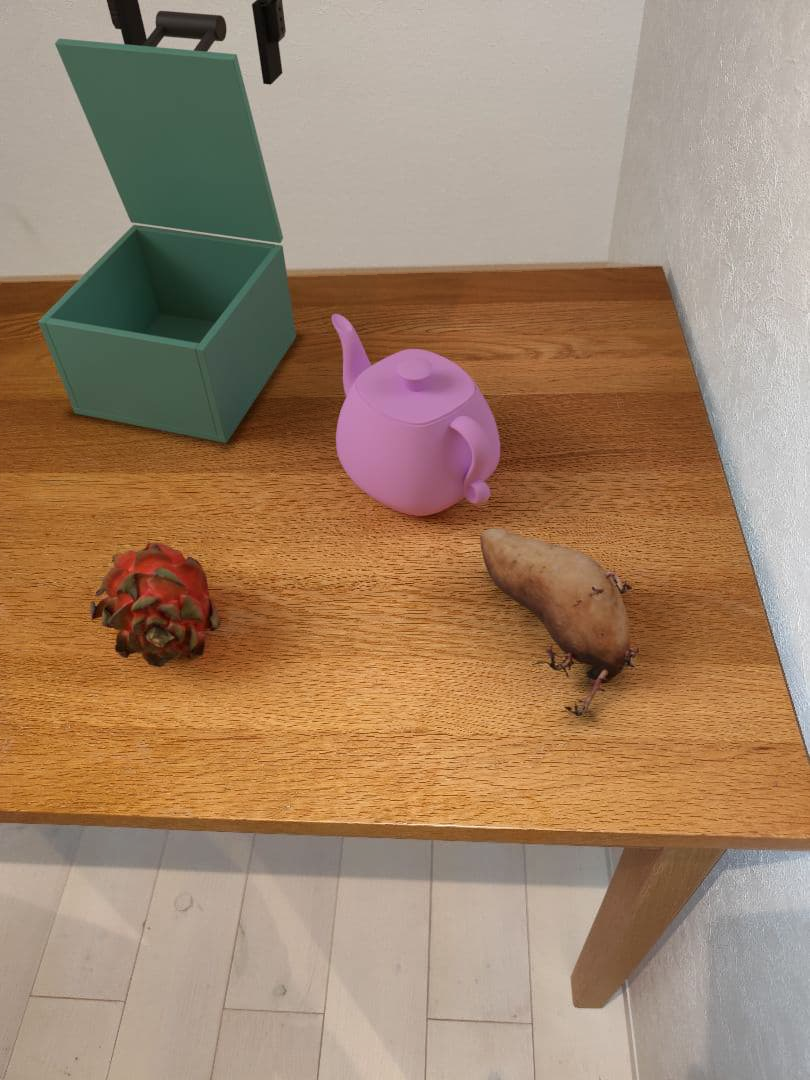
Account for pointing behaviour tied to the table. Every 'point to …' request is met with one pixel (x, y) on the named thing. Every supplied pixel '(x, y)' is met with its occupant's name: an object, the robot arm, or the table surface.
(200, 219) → the chest lid
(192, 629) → the dragon fruit
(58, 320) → the storage chest
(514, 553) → the vegetable
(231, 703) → the table surface
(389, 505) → the teapot
